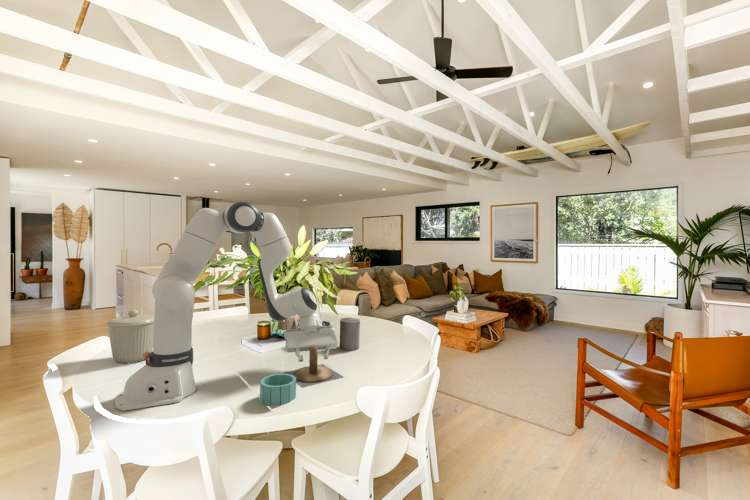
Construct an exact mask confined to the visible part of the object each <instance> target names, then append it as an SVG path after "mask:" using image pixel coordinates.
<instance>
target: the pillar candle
mask: <svg viewBox="0 0 750 500" xmlns="http://www.w3.org/2000/svg"><path fill="white" fill-rule="evenodd" d="M360 327H361V320H360V318H357V317H342V318H340V321H339V349H341V350H342V351H349V352H350V351H357V350H359V348H360V334H361V333H360V329H361V328H360Z"/></svg>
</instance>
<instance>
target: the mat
mask: <svg viewBox="0 0 750 500" xmlns="http://www.w3.org/2000/svg"><path fill="white" fill-rule="evenodd" d="M317 366H324V367H328V366H326V365H325V364H323V363H322V364H317ZM295 370H296V369H294V370H288V371H285V372H283V373H282V374H290V375H293V372H294V371H295ZM343 378H344V376H343V375H342V374H340V373H339V372H336V371H335V370H333V376H332V377H331V378H330V379H328V380H325V381H321V382H313V383H308V382H301V381H297V380H296V385H298V387H299V386H300V388H303V389H304V388H307V387H310V386H311V387H312V386H314V385H315V386H316V385H318V384H322V383H327V382H331V381H335V380H339V379H343Z"/></svg>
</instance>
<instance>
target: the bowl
mask: <svg viewBox="0 0 750 500" xmlns="http://www.w3.org/2000/svg"><path fill="white" fill-rule="evenodd" d="M259 385H260V386H259V402H260V403H261V404H262V405H263V406H268V407H270V406H280V405H284V404H288V403H290V402H292V401H294V400H295V399H296V398H297V383H296V377H295V376H293V375H290V374H284V373H273V374H270V375H267V376H264V377H262V379H261V380H260V381H259Z"/></svg>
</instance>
